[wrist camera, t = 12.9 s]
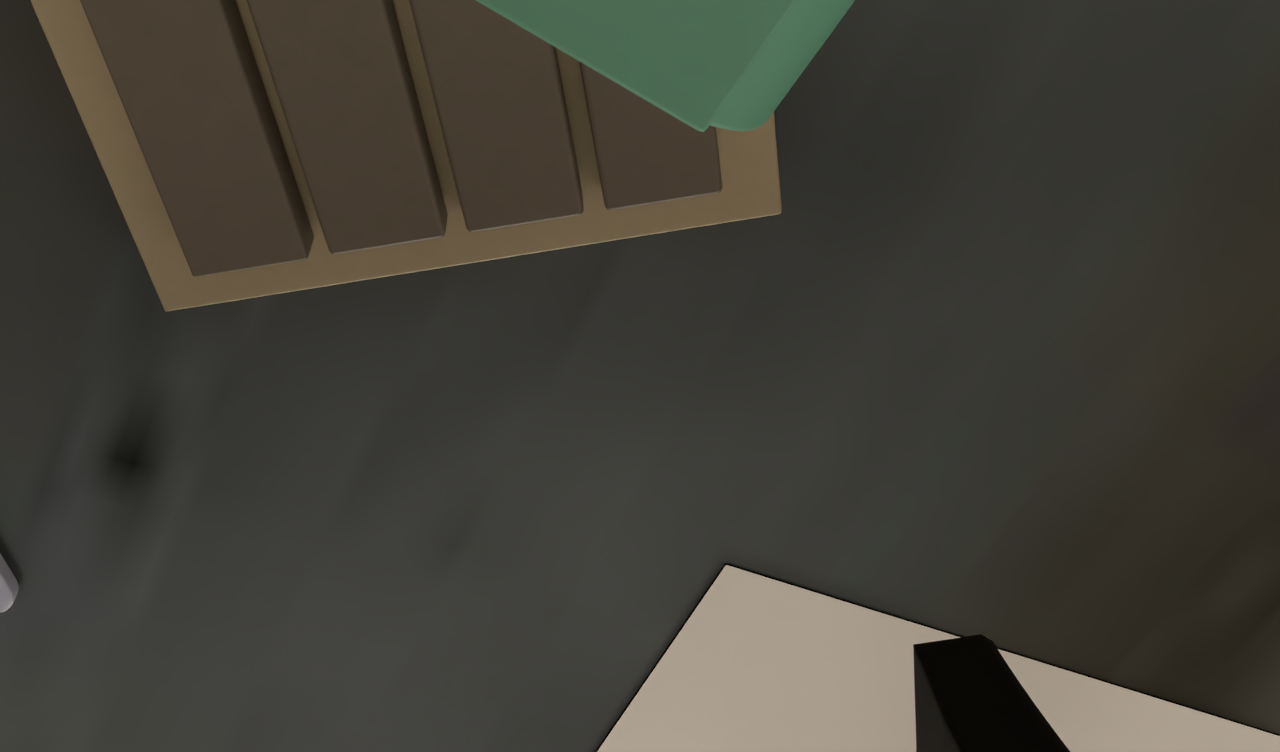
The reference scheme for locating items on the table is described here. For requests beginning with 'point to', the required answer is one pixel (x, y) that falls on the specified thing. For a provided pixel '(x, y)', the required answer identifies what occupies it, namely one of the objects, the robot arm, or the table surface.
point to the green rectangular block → (689, 49)
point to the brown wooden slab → (374, 141)
